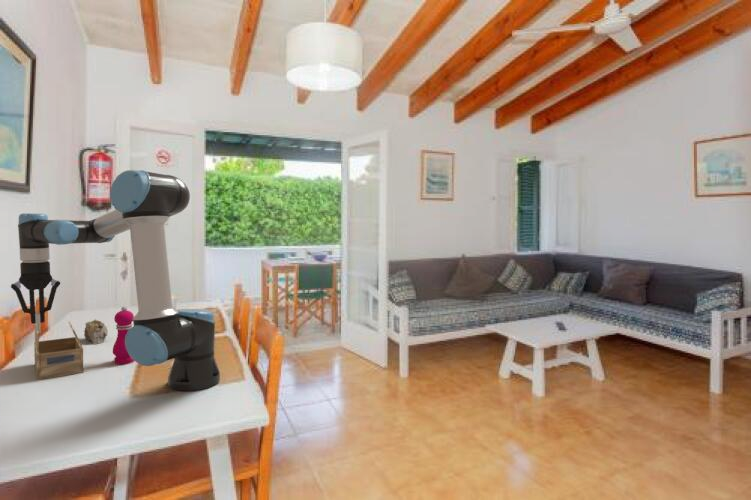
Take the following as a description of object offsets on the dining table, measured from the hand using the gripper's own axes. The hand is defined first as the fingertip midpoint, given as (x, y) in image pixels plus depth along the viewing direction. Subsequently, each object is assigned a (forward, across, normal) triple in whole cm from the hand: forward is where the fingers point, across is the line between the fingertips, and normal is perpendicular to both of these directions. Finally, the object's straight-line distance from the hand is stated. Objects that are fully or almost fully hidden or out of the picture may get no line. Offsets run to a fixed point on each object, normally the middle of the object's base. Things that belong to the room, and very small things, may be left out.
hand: (38, 332), depth 141 cm
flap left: (+1, 0, 0) cm, 2 cm away
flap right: (+2, -10, 0) cm, 10 cm away
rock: (+14, -20, -33) cm, 41 cm away
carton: (+13, -5, 0) cm, 14 cm away
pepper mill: (+14, -24, +5) cm, 28 cm away
